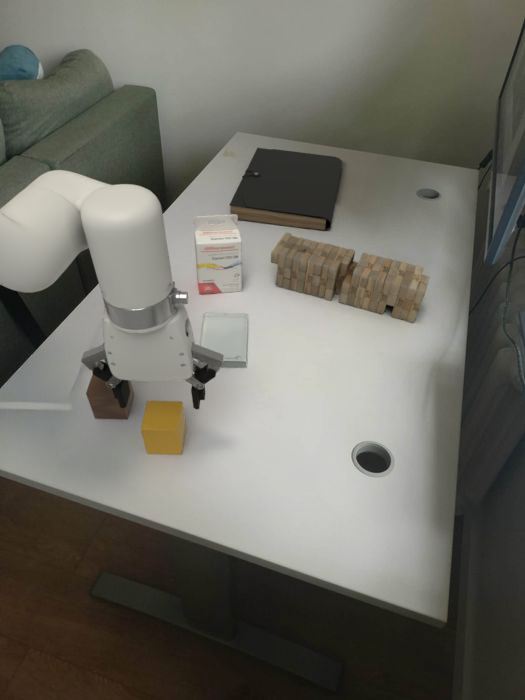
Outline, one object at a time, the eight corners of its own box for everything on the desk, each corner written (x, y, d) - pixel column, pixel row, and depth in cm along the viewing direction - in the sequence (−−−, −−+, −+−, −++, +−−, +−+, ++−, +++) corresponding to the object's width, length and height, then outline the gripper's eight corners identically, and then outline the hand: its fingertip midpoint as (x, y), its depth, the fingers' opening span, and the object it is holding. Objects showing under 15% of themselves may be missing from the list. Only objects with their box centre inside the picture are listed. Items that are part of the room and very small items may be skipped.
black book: (256, 146, 137) (343, 156, 135) (256, 160, 140) (341, 171, 138) (228, 203, 114) (332, 217, 112) (228, 219, 117) (329, 233, 115)
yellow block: (146, 454, 71) (140, 429, 67) (152, 425, 74) (147, 400, 70) (181, 454, 71) (177, 430, 67) (186, 426, 74) (182, 401, 70)
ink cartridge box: (199, 295, 97) (193, 229, 86) (197, 280, 100) (191, 215, 90) (242, 292, 98) (242, 226, 87) (239, 277, 101) (238, 212, 91)
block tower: (419, 303, 98) (282, 263, 105) (432, 268, 92) (286, 228, 99) (412, 327, 93) (268, 284, 99) (425, 292, 87) (271, 248, 93)
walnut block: (94, 418, 75) (85, 393, 71) (102, 393, 79) (94, 367, 74) (127, 419, 75) (120, 394, 71) (134, 394, 79) (127, 368, 74)
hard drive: (246, 361, 82) (248, 312, 91) (197, 360, 82) (203, 311, 91) (246, 368, 83) (248, 319, 92) (197, 367, 83) (204, 318, 92)
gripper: (222, 281, 57) (228, 380, 69) (71, 279, 57) (104, 378, 69) (216, 324, 51) (224, 424, 63) (50, 322, 51) (90, 422, 63)
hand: (161, 400), depth 66 cm, fingers open, 9 cm apart
